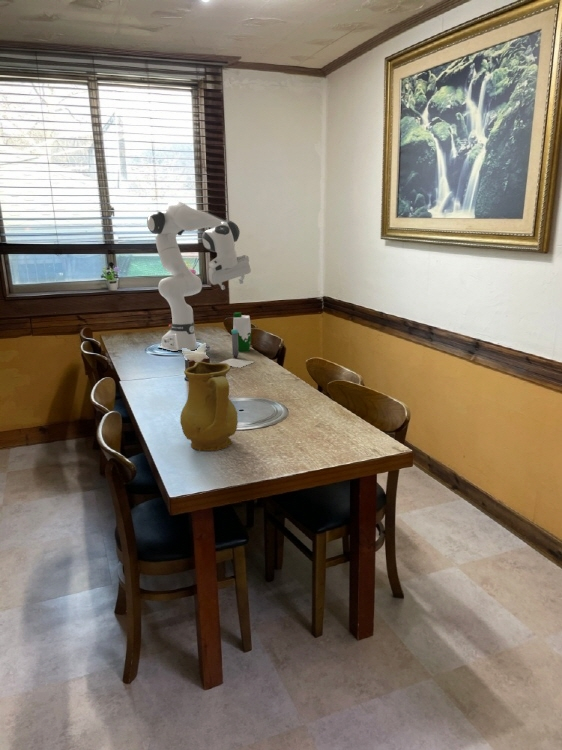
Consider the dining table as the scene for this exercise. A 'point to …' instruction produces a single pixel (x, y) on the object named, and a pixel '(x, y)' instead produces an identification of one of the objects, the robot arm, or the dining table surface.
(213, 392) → the pitcher
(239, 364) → the paper
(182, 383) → the dining table surface
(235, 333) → the marker
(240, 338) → the milk carton
